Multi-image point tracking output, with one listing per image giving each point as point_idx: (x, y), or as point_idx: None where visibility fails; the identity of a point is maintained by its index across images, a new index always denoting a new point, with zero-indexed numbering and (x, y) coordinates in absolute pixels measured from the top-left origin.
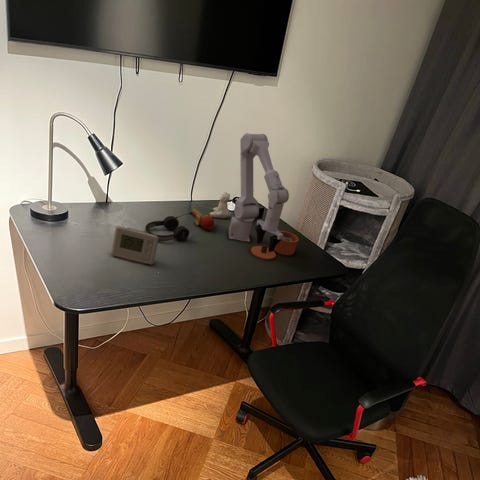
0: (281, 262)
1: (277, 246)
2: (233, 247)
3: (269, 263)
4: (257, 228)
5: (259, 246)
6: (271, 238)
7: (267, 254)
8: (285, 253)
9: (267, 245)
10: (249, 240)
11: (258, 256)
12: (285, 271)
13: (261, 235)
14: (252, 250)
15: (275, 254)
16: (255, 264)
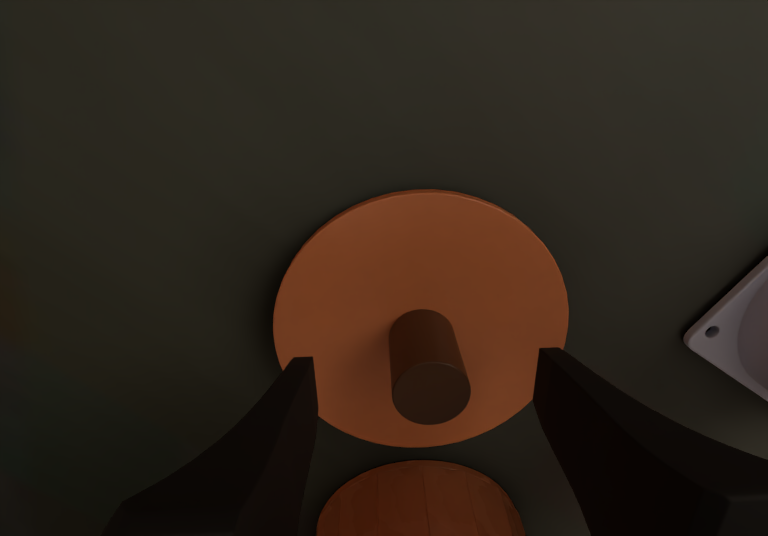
0: (221, 402)
1: (410, 521)
2: (704, 44)
3: (217, 268)
4: (750, 500)
5: None
6: (161, 521)
7: (357, 347)
8: (327, 520)
9: (415, 419)
10: (706, 353)
11: (347, 210)
12: (35, 332)
13: (591, 466)
14: (496, 226)
15: (336, 427)
16: (216, 61)
